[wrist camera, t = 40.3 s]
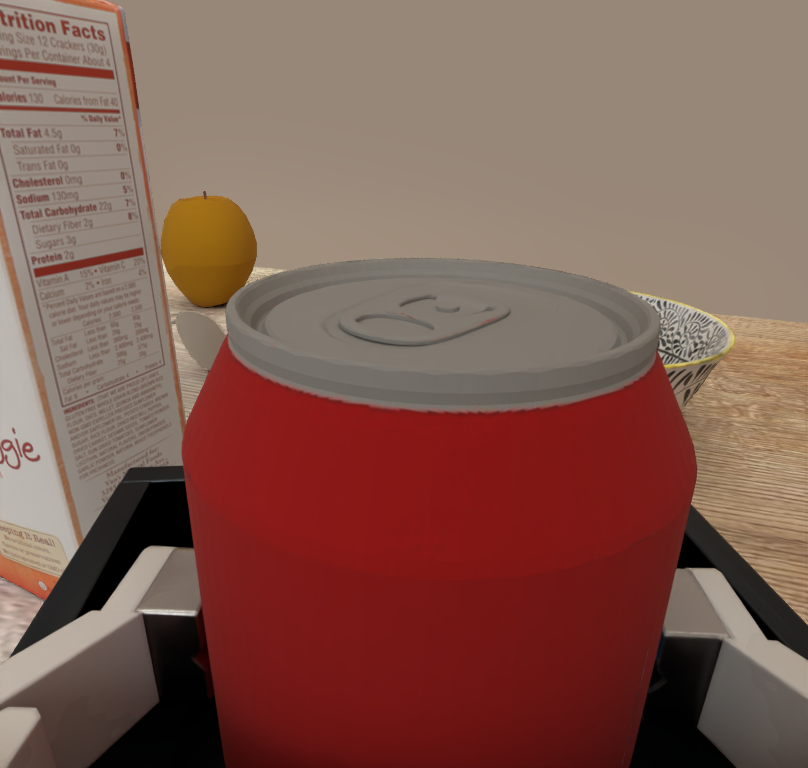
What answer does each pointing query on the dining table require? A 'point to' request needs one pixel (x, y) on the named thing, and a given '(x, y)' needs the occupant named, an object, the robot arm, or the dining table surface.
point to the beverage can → (435, 516)
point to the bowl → (688, 344)
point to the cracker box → (75, 285)
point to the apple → (208, 248)
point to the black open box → (197, 718)
